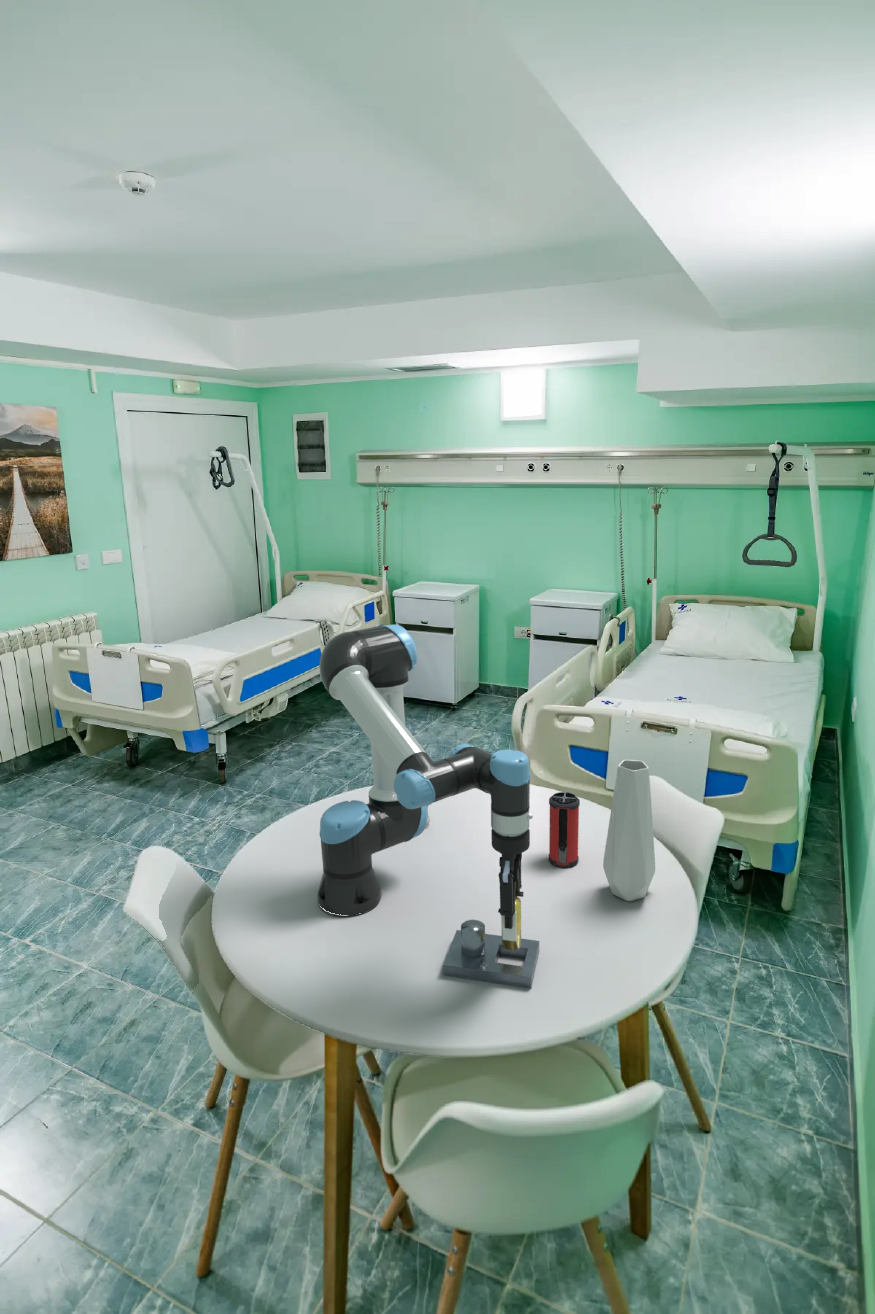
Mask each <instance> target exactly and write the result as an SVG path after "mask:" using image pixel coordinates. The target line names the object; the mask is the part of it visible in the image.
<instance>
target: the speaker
mask: <svg viewBox="0 0 875 1314" xmlns="http://www.w3.org/2000/svg"><path fill="white" fill-rule="evenodd" d="M548 805H549V838H548V839H549V841H548V842H549V846H548V847H549V849H548V850H549V853H548V861H549V862H550V863H551V864H552V865H553V866H555V867H562V868H570V867H573V866H575V865H576V864H578V862H579V861H580V859H579V822H580V821H579V819H580V817H579V816H580V812H579V811H580V805H581V804H580V799H579V798H578V797H577V796H576V795H575V794H573V793H571V792H567V791H560V792H556V793H553V795H551V796H550V797H549V799H548Z"/></svg>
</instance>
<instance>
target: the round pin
mask: <svg viewBox="0 0 875 1314" xmlns="http://www.w3.org/2000/svg"><path fill="white" fill-rule="evenodd" d="M515 911H516V941H509V940H503V936H502V935H501V936H502V946H503V947H504V948H505V949H507V950H516V949H519V948H520V947H521V939H522V900H521V897H519V896H518V897H517V896H515ZM500 918H501V919H500V920H501V921H500V923H501V928H502V915H500Z"/></svg>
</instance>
